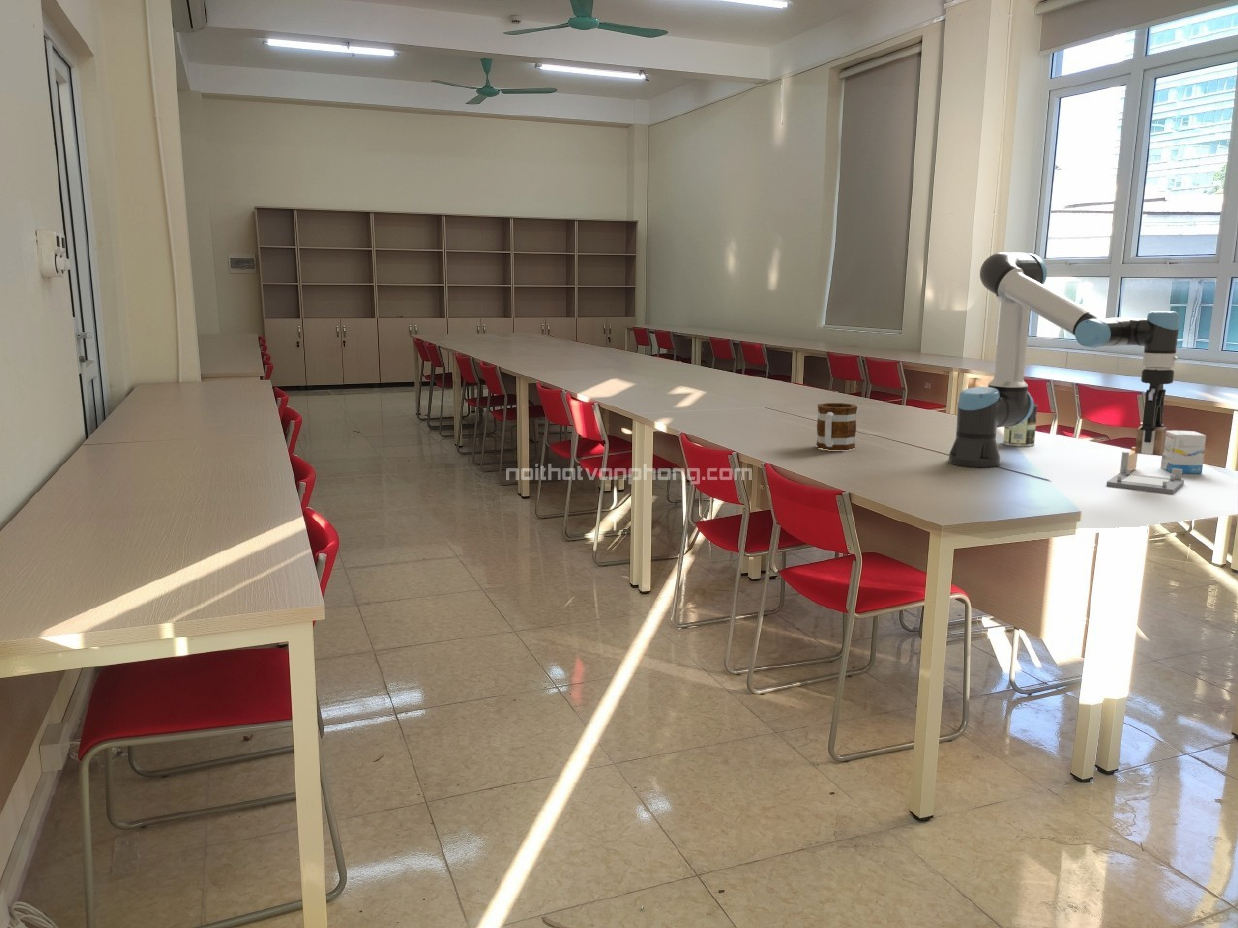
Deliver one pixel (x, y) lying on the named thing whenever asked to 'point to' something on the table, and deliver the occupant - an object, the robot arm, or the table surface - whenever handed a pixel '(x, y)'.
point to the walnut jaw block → (1158, 441)
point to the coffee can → (1021, 432)
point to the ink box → (1184, 451)
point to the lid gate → (1132, 459)
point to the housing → (1145, 480)
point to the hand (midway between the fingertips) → (1149, 451)
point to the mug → (836, 426)
